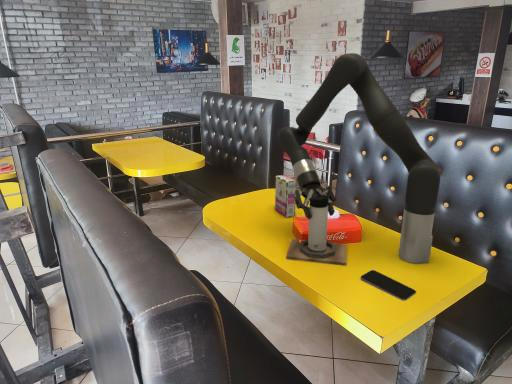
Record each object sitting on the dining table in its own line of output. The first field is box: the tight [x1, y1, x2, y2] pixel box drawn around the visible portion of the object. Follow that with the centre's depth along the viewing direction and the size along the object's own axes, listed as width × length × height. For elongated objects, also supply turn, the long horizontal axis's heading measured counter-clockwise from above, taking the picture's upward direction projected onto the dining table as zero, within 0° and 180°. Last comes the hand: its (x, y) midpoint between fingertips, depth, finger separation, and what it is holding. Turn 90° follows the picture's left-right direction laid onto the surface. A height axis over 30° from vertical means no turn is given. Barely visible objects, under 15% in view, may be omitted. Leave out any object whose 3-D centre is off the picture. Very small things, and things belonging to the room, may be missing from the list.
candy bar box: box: [274, 174, 297, 219], centre depth 163 cm, size 11×5×16 cm, turn 23°
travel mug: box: [307, 194, 329, 253], centre depth 127 cm, size 6×7×20 cm
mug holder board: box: [285, 238, 348, 266], centre depth 129 cm, size 20×14×2 cm
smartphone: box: [360, 269, 417, 301], centre depth 110 cm, size 7×1×15 cm
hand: (321, 216), depth 124 cm, fingers open, 8 cm apart
